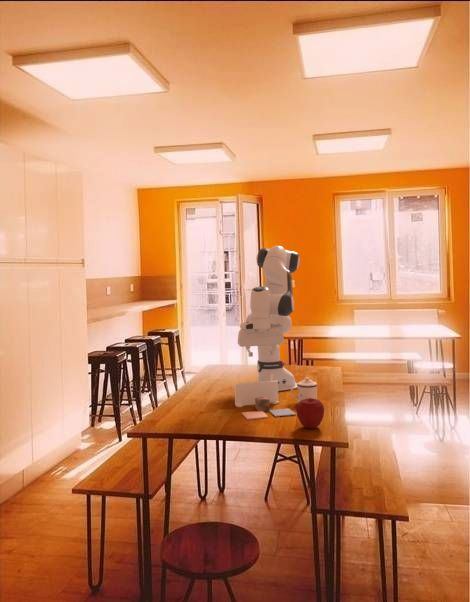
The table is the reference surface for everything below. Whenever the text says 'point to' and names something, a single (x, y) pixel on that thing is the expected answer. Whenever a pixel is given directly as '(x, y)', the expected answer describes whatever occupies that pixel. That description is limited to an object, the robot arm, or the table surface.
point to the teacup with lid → (306, 390)
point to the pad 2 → (282, 412)
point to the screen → (255, 392)
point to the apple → (310, 412)
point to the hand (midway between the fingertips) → (261, 355)
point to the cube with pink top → (262, 403)
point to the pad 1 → (254, 415)
